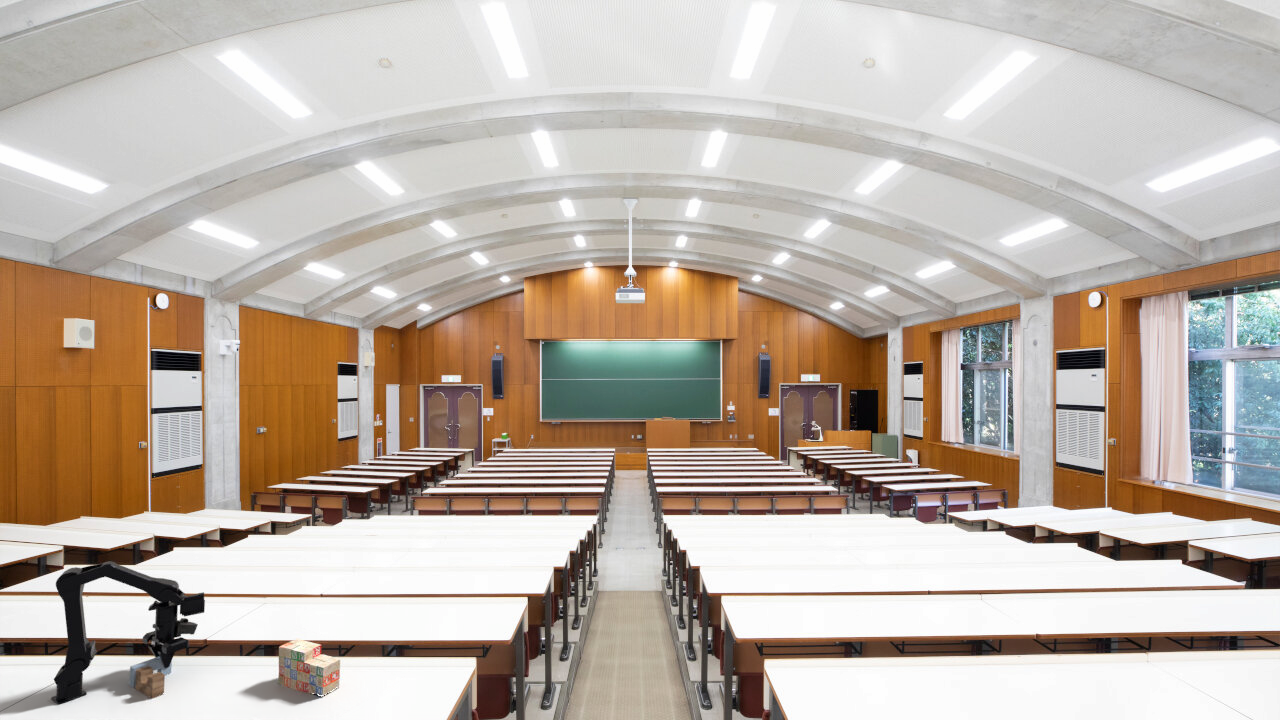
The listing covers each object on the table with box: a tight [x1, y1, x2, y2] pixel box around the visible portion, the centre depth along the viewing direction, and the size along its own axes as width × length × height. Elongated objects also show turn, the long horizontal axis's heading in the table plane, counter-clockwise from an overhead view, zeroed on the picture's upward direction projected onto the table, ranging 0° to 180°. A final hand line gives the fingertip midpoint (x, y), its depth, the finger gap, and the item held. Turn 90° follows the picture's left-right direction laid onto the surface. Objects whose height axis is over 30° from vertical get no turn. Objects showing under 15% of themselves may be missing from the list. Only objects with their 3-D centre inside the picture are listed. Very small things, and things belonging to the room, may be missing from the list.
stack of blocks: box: [277, 638, 341, 695], centre depth 179 cm, size 21×6×12 cm, turn 67°
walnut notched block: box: [134, 666, 166, 699], centre depth 176 cm, size 12×3×6 cm, turn 62°
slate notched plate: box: [129, 656, 173, 689], centre depth 183 cm, size 10×3×6 cm, turn 152°
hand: (164, 666), depth 186 cm, fingers closed on slate notched plate, 3 cm apart
